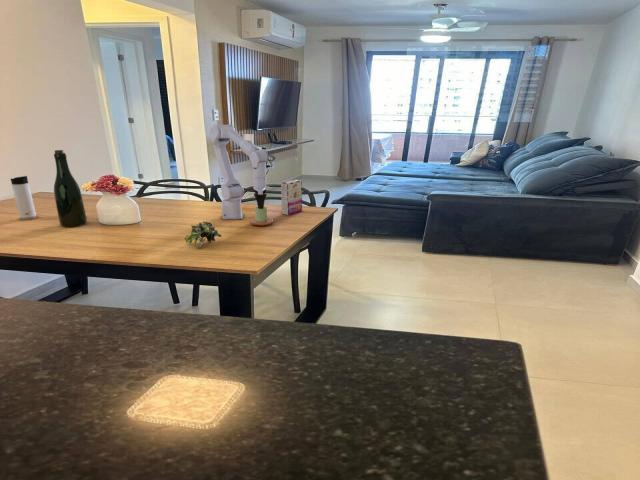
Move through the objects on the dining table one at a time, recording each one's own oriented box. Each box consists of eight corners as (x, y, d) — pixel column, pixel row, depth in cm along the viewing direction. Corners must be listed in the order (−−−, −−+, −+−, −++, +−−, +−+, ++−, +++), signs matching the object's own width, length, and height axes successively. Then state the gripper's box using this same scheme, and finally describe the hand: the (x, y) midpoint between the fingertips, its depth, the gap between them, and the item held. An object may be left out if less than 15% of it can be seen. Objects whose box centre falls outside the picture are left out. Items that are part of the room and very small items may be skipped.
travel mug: (31, 220, 178) (20, 177, 171) (17, 219, 178) (6, 177, 171) (40, 216, 184) (30, 175, 177) (27, 216, 184) (16, 174, 177)
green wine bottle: (57, 224, 172) (41, 149, 162) (83, 219, 180) (69, 148, 169) (63, 229, 165) (47, 151, 155) (90, 224, 173) (76, 150, 162)
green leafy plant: (210, 254, 155) (226, 231, 153) (200, 259, 144) (217, 234, 142) (187, 238, 154) (203, 214, 152) (175, 242, 144) (193, 216, 142)
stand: (249, 227, 172) (249, 223, 172) (249, 220, 182) (249, 217, 182) (273, 226, 174) (273, 223, 173) (272, 220, 184) (272, 216, 184)
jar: (255, 221, 175) (255, 209, 173) (255, 218, 180) (255, 206, 178) (267, 221, 176) (266, 208, 174) (266, 218, 180) (266, 206, 178)
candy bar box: (295, 209, 204) (295, 179, 199) (302, 211, 201) (302, 180, 196) (281, 213, 196) (280, 182, 190) (288, 215, 193) (287, 183, 187)
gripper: (269, 180, 165) (270, 210, 169) (268, 174, 178) (268, 202, 183) (252, 180, 164) (254, 210, 168) (252, 174, 177) (254, 203, 182)
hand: (260, 206), depth 175 cm, fingers open, 7 cm apart
